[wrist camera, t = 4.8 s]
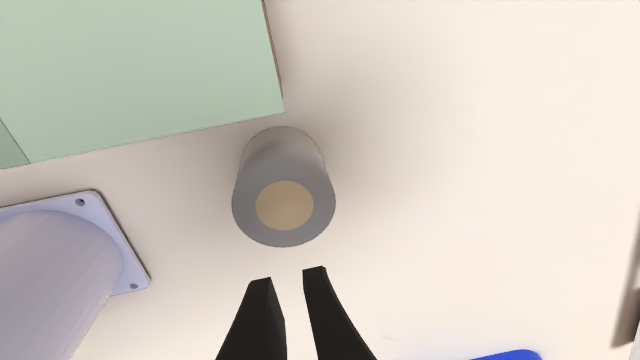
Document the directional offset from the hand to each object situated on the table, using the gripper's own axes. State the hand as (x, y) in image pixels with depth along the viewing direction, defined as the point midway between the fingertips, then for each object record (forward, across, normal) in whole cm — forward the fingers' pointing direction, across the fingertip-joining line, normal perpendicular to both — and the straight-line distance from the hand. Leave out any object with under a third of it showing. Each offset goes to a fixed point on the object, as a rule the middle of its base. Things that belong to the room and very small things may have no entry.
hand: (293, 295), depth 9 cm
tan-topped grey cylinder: (+10, 0, 0) cm, 11 cm away
